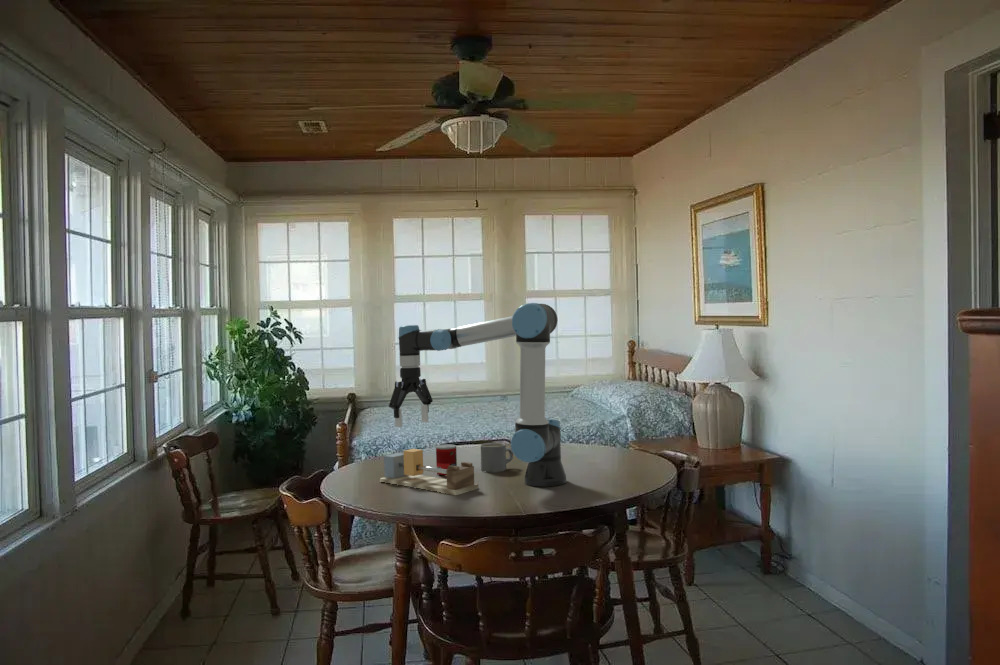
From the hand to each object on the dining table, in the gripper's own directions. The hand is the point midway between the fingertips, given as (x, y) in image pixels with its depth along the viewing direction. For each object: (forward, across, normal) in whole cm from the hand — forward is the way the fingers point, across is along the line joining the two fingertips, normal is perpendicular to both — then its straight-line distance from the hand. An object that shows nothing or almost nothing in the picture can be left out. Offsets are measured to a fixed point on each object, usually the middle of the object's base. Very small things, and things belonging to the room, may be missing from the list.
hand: (412, 424), depth 261 cm
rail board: (+22, 0, +7) cm, 23 cm away
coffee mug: (+22, -35, +12) cm, 43 cm away
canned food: (+22, -18, 0) cm, 28 cm away
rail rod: (+18, 0, +7) cm, 19 cm away
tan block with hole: (+18, 0, 0) cm, 18 cm away
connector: (+20, 0, -9) cm, 22 cm away
